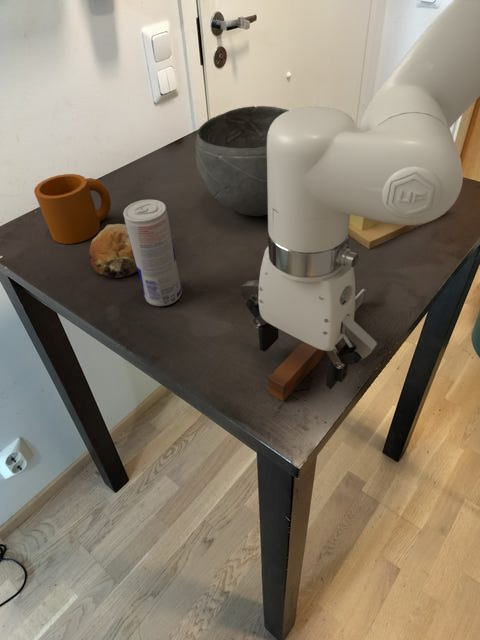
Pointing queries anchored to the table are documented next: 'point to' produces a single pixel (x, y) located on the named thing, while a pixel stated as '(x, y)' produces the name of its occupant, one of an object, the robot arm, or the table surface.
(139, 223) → the beverage can
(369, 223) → the butter piece
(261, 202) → the bowl
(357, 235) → the board
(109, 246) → the bread roll
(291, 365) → the knife
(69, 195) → the mug
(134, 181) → the table surface
